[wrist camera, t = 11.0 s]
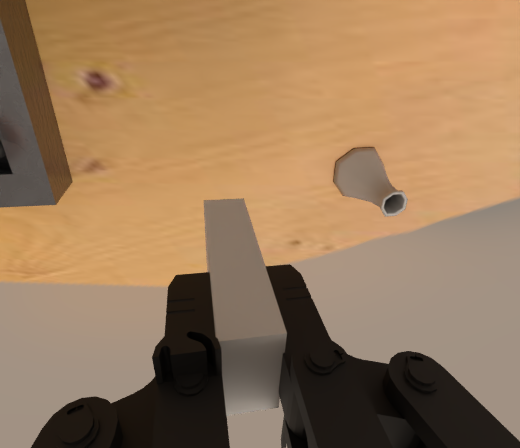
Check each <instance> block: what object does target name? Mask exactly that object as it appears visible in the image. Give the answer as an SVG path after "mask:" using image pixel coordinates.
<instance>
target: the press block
mask: <svg viewBox="0 0 520 448" xmlns="http://www.w3.org/2000/svg"><path fill="white" fill-rule="evenodd" d="M0 139H1V142H2V145H3V148H4V151H5V153H6V155H5V156H3V157H2V158H1V159H0V207H18V206H39V205H56V204H57V203H58V201H59V200H60V198H61V197H62V196H63V194H64V193H65V191H66V190H67V189H68V187H69V186H70V184H71V183H72V178H71V175H70V171H69V167H68V163H67V159H66V155H65V152H64V148H63V144H62V140H61V136H60V133H59V129H58V125H57V121H56V117H55V114H54V110H53V106H52V102H51V98H50V94H49V91H48V87H47V83H46V79H45V75H44V72H43V68H42V64H41V60H40V56H39V53H38V49H37V45H36V41H35V37H34V33H33V30H32V26H31V22H30V18H29V14H28V11H27V7H26V3H25V0H0Z"/></svg>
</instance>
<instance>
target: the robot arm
mask: <svg viewBox="0 0 520 448" xmlns="http://www.w3.org/2000/svg"><path fill="white" fill-rule="evenodd" d="M204 217H205V237H206V257H207V270H208V272H206V273H195V274H183V275H176V276H175V277H174V279H173V281H172V282H171V284H170V285H169V287H168V296H167V311H166V312H167V315H166V325H165V337H164V338H163V339H162V340H161V341H160V342H159V343H158V345H157V346H156V347H155V351H154V354H153V356H152V359H153V364H154V370H155V377H154V379H153V380H152V381H151V382H150V383H149V384H148V385H146V386H145V387H144V388H143V389H141V390H139V391H137V392H135V393H134V394H131V395H129V396H127V397H125V398H122V399H120V400H118V401H116V402H113V403H110V402H109V401H108V400H106V399H102V398H99V397H87V398H81V399H78V400H76V401H74V402H71V403H69V404H67V405H66V406H64V407H63V408H62V409H60V410H59V411H58V412H56V413H55V414H54V415H53V416H52V417H51V418H50V419H49V421H48V422H47V423H46V425H45V426H44V427H43V428H42V430H41V432H40V433H39V435H38V437H37V438H36V440H35V442H34V444H33V445H32V447H31V448H230V446H229V436H228V426H227V417H226V416H228V415H235V414H241V413H247V412H253V411H259V410H266V409H272V408H278V407H279V399H281V403H282V407H283V411H284V420H283V428H282V435H281V446H282V447H281V448H286V443H287V447H288V448H520V442H519V440H518V439H517V438H516V437H514V436H513V435H512V434H511V433H510V432H509V431H508V430H507V429H506V428H505V427H504V426H503V425H502V424H501V423H500V422H499V421H498V420H497V419H496V418H495V417H494V416H493V415H492V414H491V413H490V412H489V411H488V410H487V409H485V407H484V406H483V405H481V404H480V403H479V402H478V401H477V400H476V399H475V398H474V397H473V396H472V395H471V394H470V393H469V392H468V391H467V390H466V389H465V388H464V387H463V386H462V385H461V384H460V383H459V382H458V381H457V380H456V379H455V378H454V377H453V376H452V375H451V374H450V373H449V372H448V371H446V370H445V369H444V368H443V367H442V366H441V365H440V364H438V363H437V362H436V361H435V360H433V359H432V358H430V357H428V356H425V355H423V354H421V353H417V352H411V351H406V352H401V353H397V354H396V355H395V356H394V357H392V358H391V360H390V363H389V364H386V363H379V362H373V361H367V360H362V359H358V358H354V357H352V356H350V355H348V354H347V353H346V352H345V350H344V349H343V348H342V347H340V346H339V345H338V344H336V343H335V342H333V341H332V340H331V339H330V337H329V335H328V333H327V330H326V328H325V326H324V324H323V322H322V319H321V317H320V315H319V313H318V311H317V308H316V306H315V304H314V302H313V300H312V299H311V295H310V293H309V291H308V288H306V284H305V282H304V280H303V277H302V275H301V274H300V273H299V272H298V271H297V270H296V269H295V268H294V267H292V266H291V265H290V264H289V265H277V266H265V263H264V260H263V257H262V254H261V251H260V248H259V245H258V242H257V239H256V235H255V232H254V229H253V226H252V223H251V220H250V217H249V214H248V211H247V207H246V204H245V201H244V199H223V200H204Z"/></svg>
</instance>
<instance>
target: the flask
mask: <svg viewBox="0 0 520 448" xmlns="http://www.w3.org/2000/svg"><path fill="white" fill-rule="evenodd" d="M334 183H335V184H336V186H337V187H338V189H339V190H340V192H341V193H342V195H343V196H347V197H352V198H357V199H361V200H365V201H369V202H372V203H373V204H375V205H377V206H379V207H380V209H381V210H382V212H383V214H384V215H385V216H396V215H397V214H399V213H400V212H402V211H403V210H405V208H406V204H407V200H408V199H407V197H406V195H405V193H404V192H403V191H401V190H400V191H398V190H396V189H395V188H394V187H393V186H392V185H391V183H390V182H389V179H388V177H387V174H386V171H385V168H384V165H383V163H382V161H381V159H380V157H379V155H378V153H377V151H376V150H375V148H374V147H372V148H354V149H353V150H351V151H350V152H349V153H347V154H346V155H345V156H343V157H342V158H340V159H339V160H338V161H336V167H335V174H334Z"/></svg>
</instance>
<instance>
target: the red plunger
mask: <svg viewBox="0 0 520 448" xmlns="http://www.w3.org/2000/svg"><path fill="white" fill-rule="evenodd" d="M5 155H6V153H5V151H4V148H3V145H2V142H1V139H0V159H1V158H2V157H3V156H5Z"/></svg>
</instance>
